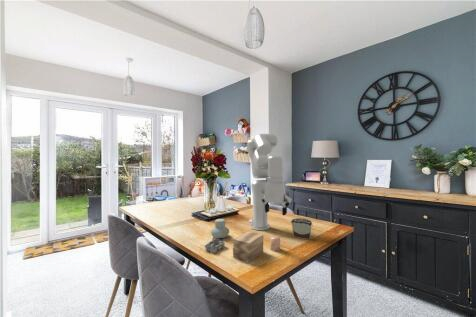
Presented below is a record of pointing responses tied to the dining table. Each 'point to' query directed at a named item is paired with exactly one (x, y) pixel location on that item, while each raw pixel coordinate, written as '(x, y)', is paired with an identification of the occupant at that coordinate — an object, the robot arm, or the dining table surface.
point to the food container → (301, 228)
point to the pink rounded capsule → (275, 243)
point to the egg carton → (212, 247)
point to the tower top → (248, 241)
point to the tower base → (247, 254)
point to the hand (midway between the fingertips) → (275, 213)
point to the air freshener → (220, 229)
